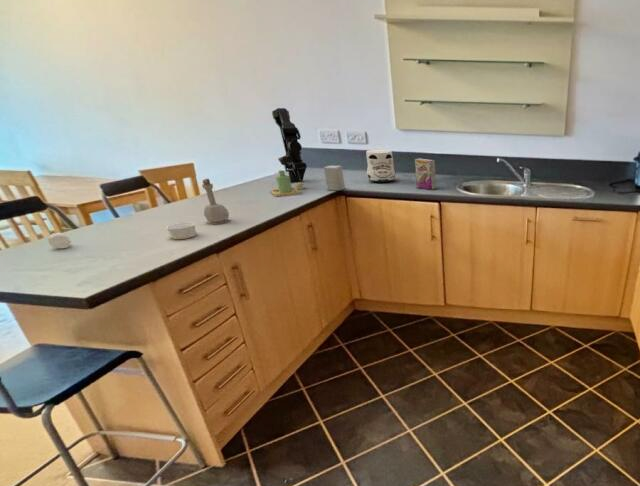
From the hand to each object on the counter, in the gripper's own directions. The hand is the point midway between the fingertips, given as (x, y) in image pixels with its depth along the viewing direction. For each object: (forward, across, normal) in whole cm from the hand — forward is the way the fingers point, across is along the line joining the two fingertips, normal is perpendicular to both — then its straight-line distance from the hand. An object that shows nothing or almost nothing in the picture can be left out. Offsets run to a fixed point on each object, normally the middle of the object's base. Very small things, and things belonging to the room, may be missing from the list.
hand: (299, 178), depth 237 cm
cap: (+5, +1, -1) cm, 5 cm away
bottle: (+5, +9, -10) cm, 14 cm away
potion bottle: (+5, +50, -46) cm, 68 cm away
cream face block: (+5, +5, +47) cm, 47 cm away
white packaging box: (+5, +13, +16) cm, 21 cm away
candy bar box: (+5, +37, +61) cm, 71 cm away
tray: (+5, +9, -10) cm, 15 cm away
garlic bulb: (+5, +57, -94) cm, 110 cm away
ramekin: (+5, +66, -59) cm, 88 cm away
